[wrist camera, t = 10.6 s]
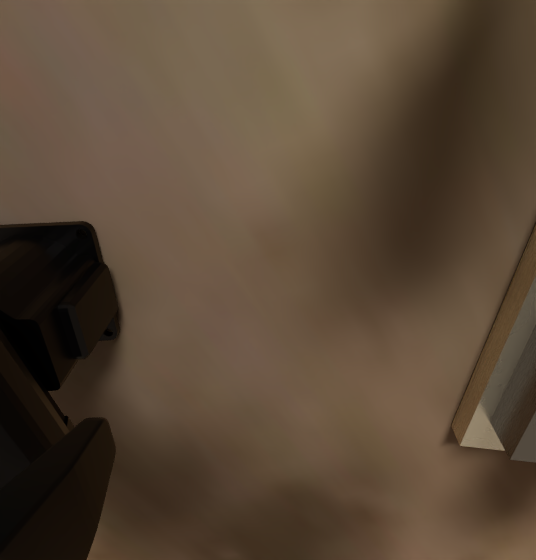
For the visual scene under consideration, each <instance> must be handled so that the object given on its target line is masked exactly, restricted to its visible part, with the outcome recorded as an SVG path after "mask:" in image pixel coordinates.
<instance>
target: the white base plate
mask: <svg viewBox="0 0 536 560" xmlns="http://www.w3.org/2000/svg"><path fill="white" fill-rule="evenodd" d="M451 426H452V429H453V431H454V433H455V436H456V438H457V440H458V443H459V445H460V446H466V447H475V448H484V449H493V450H502V451H506V453H507V455H508V457H509V459H510V460H517V461H526V462H535V463H536V225H535V227H534V230H533V232H532V234H531V237H530V239H529V242H528V244H527V246H526V249H525V251H524V253H523V256H522V258H521V261H520V263H519V265H518V268H517V270H516V272H515V275H514V277H513V280H512V282H511V284H510V287H509V289H508V292H507V294H506V296H505V299H504V301H503V303H502V306H501V308H500V311H499V313H498V315H497V318H496V320H495V322H494V325H493V327H492V330H491V332H490V334H489V337H488V339H487V341H486V344H485V346H484V349H483V351H482V353H481V356H480V358H479V361H478V363H477V365H476V368H475V370H474V372H473V375H472V377H471V380H470V382H469V384H468V387H467V389H466V391H465V394H464V396H463V399H462V401H461V403H460V406H459V408H458V411H457V413H456V415H455V418H454V420H453V422H452V425H451Z"/></svg>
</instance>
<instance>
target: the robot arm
mask: <svg viewBox="0 0 536 560" xmlns="http://www.w3.org/2000/svg"><path fill="white" fill-rule="evenodd" d="M79 229H81V230H84V231H85V232H86V234H87V236H83V235H82V234H81V233H80V232H79ZM117 310H118V304H117V300H116V296H115V292H114V288H113V284H112V280H111V276H110V272H109V268H108V266H107V265H106V264H105V263H104V262H103V260H102V256H101V252H100V248H99V244H98V240H97V236H96V232H95V230H94V227H93V226H92V225H91V224H89V223H88V222H84V221H77V222H55V223H33V224H11V225H0V560H87V557H88V554H89V551H90V548H91V546H92V543H93V540H94V537H95V534H96V531H97V528H98V524H99V520H100V516H101V512H102V508H103V504H104V500H105V496H106V492H107V487H108V483H109V479H110V475H111V471H112V467H113V463H114V458H115V452H116V448H115V443H114V439H113V436H112V433H111V429H110V426H109V423H108V421H107V419H105V418H86V419H84V420H83V421H82V422H81V423H79V424H78V425H77V426H76V427H75V428H74V425H73V424H72V422H71V421H70V419H69V418H68V416H64V415H63V413H62V412H61V410H60V409H59V407H58V406H57V404H56V403H55V401H54V400H53V398H52V397H51V395H50V394H49V392H48V391H55V390H58V389H59V388H60V387H61V385H62V384H63V382H64V381H65V379H66V378H67V376H68V375H69V373H70V372H71V370H72V369H73V367H74V366H75V364H76V363H77V361H78V359H86V358H87V357H88V356H89V354H90V353H91V352H92V350H93V348H94V347H95V345H96V344H97V342H98V341H101V340H114V339H115V338H116V337H117V335H118V334H119V332H120V326H119V323H118V319H117V315H116V312H117ZM106 328H108V329H111V330H112V332H109V331H107V329H106Z"/></svg>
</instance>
